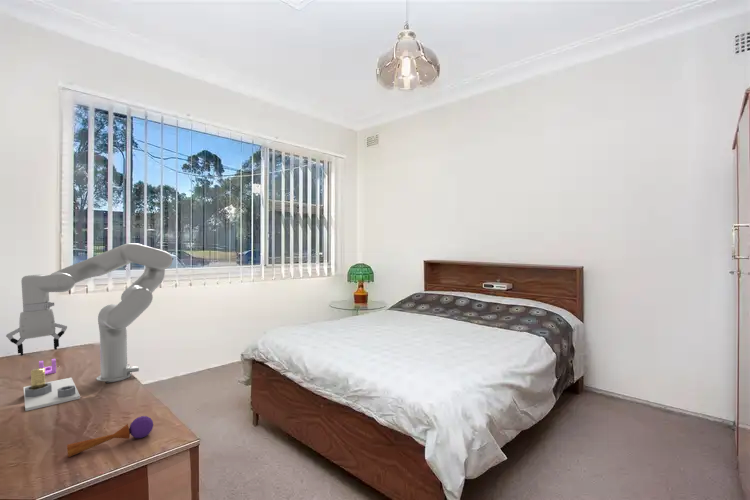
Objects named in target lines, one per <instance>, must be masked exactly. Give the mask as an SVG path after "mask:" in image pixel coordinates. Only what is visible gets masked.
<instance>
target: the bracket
mask: <svg viewBox="0 0 750 500" xmlns="http://www.w3.org/2000/svg"><path fill="white" fill-rule="evenodd" d="M38 368H45V375H50V374H56V373H57V360H56V358H51V365H49V366H45V365H44V360H39V361H38Z"/></svg>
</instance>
